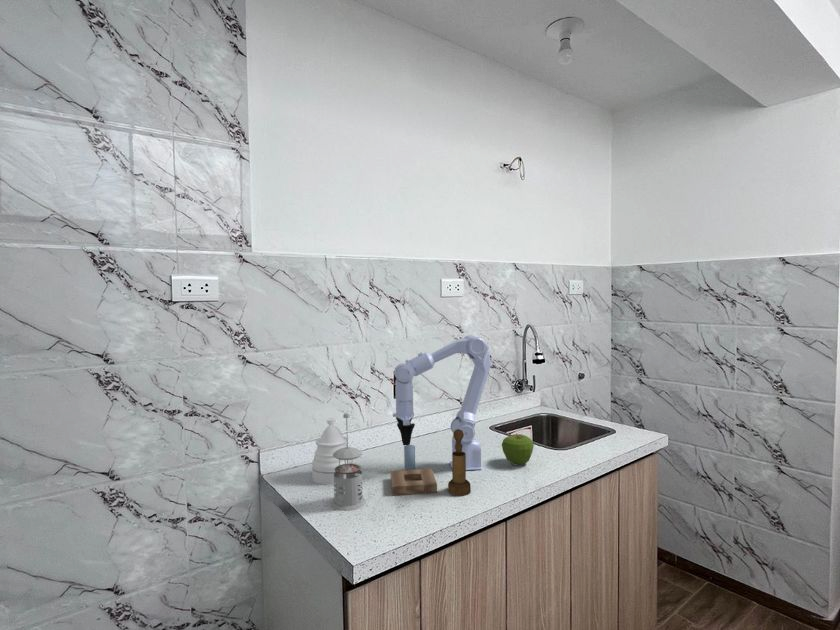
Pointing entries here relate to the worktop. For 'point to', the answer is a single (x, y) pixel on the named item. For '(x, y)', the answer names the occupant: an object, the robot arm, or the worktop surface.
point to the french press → (347, 479)
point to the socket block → (413, 482)
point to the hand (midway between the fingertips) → (405, 441)
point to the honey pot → (328, 454)
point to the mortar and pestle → (459, 469)
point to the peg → (409, 457)
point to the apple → (517, 449)
